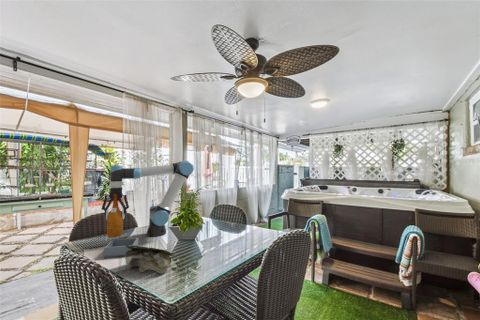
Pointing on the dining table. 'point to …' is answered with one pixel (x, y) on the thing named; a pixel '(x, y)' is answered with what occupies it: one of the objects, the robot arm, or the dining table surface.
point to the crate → (119, 247)
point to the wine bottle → (115, 220)
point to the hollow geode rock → (148, 258)
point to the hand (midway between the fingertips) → (115, 219)
